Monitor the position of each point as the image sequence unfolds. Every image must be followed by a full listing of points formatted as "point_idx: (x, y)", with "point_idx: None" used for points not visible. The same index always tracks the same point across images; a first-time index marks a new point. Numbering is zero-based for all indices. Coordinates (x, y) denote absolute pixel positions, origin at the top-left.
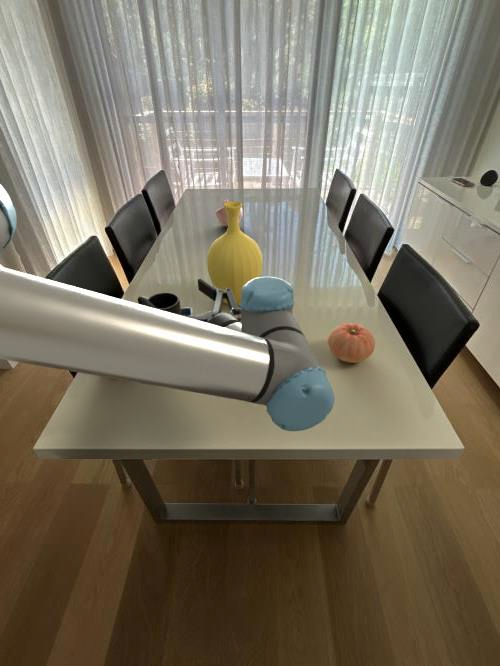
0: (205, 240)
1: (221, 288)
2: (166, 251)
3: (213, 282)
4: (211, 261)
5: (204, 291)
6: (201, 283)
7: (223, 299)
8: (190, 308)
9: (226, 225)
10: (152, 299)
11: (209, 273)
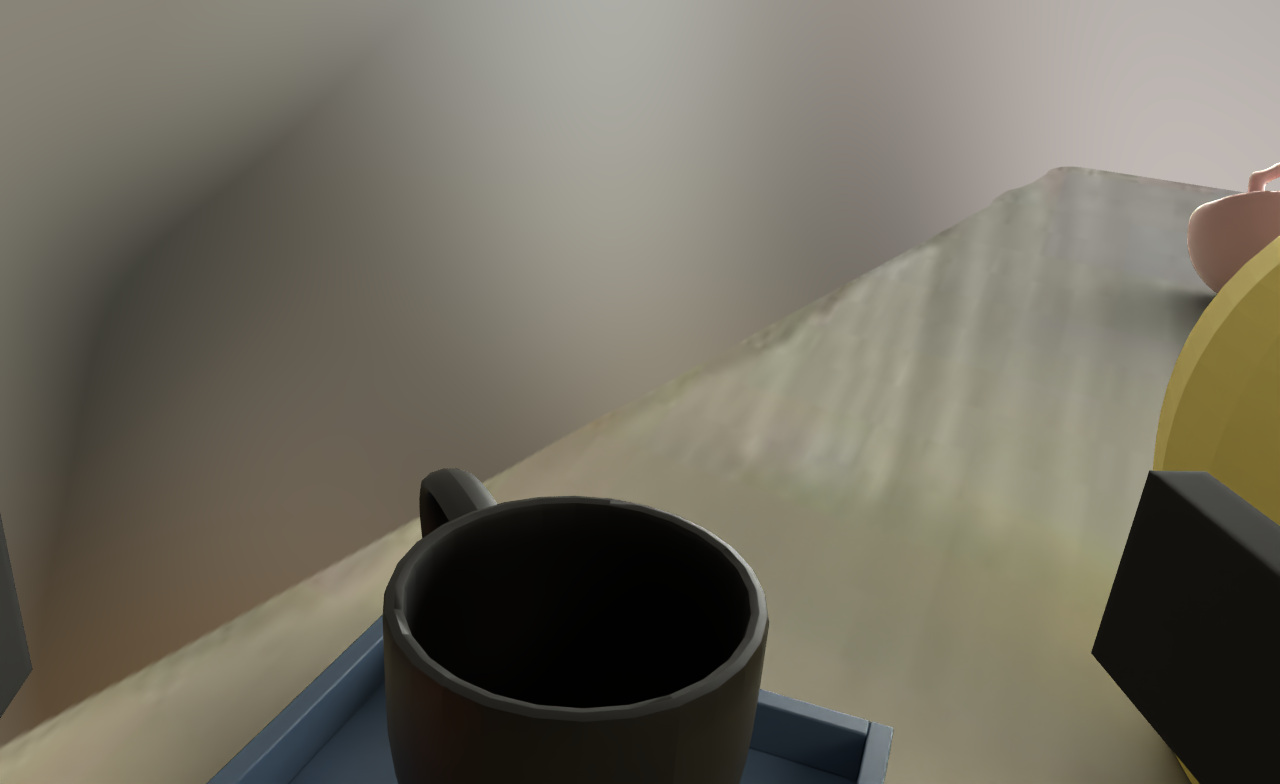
0: (1098, 327)
1: None
2: (868, 319)
3: None
4: (1256, 367)
5: (1246, 758)
6: (1231, 570)
7: None
8: (871, 742)
9: None
10: (519, 535)
11: None
